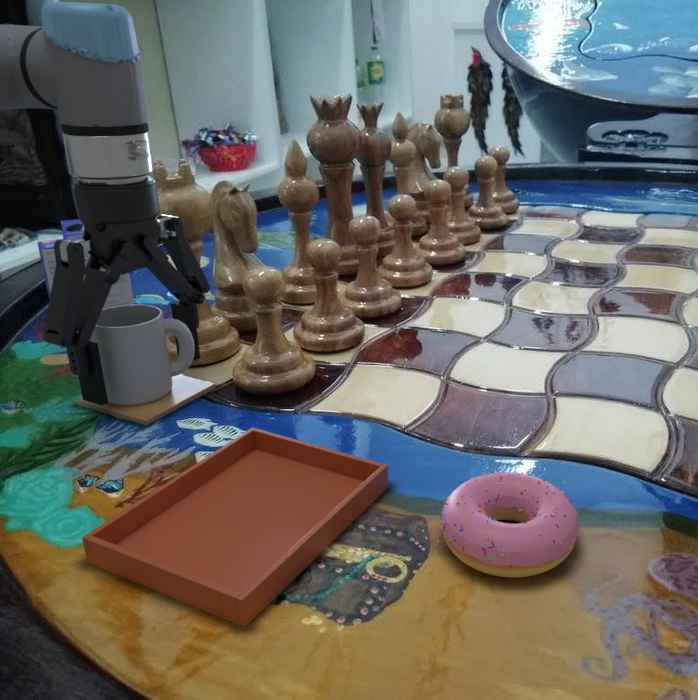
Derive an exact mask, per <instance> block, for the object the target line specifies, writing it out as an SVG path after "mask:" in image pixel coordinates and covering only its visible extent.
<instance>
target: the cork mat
mask: <svg viewBox="0 0 698 700" xmlns="http://www.w3.org/2000/svg"><path fill="white" fill-rule="evenodd" d="M216 388H217V387H216V383H215V382H210V381H207V380H204V379H203V380H202V379H200V378H195V377H191V376H188V375H184V374H179V375H176V376H172V388H171V390H170V391H169V393H168V394H167V395H166V396H165V397H163V398H161V399H159V400H157V401H154V402H151V403H147V404H143V405H136V406H118V405H114V404H110V403H109V402H108V403H106V404H104V405H99V404H95V403H92V402H88V401H85V400H83V397H80V398H78V399H76V404H77V406H80V407H82V408H86V409H89V410H93V411H96V412H100V413H103V414H107V415H110V416H113V417H116V418H120V419H124V420H127V421H129V422H133V423H137V424H139V425H143V426H145V427H146V426H149V425H151V424H152V423H154V422H156V421H158V420H160V419H161V418H163V417H166V416H167V415H169V414H171V413H173V412H174V411H176V410H178V409H180V408H182V407H184V406H186V405H188V404H189V403H191V402H193V401H195V400H197V399H198V398H200V397H202V396H204V395H206V394H207V393H210V392H211V391H214V390H215V389H216Z"/></svg>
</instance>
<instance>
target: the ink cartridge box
mask: <svg viewBox="0 0 698 700" xmlns="http://www.w3.org/2000/svg"><path fill="white" fill-rule="evenodd" d="M76 225H77V226H78V225H81V226H83V224H82V222H81V220H80V219H79V218H77V219H66V220H65V219H64V220H60V226H61V231H62V238H61V239H62V240H67V241H73V240H79V239H82V237H83V233H84V229H81V230H72V231H70V230H68V228H70V227H72V226H73V227H74V226H76ZM58 239H59V238H57V239H56V238H55V239H48V240H41V241H40V240H39V241H37V247H38V252H39V258H40V261H41V262H40V263H41V267H42V271H43V277H44V281H45V286H46V290H47V295H48V298H49V300H50V295H51V290H52V284H53V279H54V274H55V268H56V258H55V251H54V243H55V241H56V240H58ZM87 255H88V256H89V258H90V254H89V253H87ZM87 262H88V261H85V267H86V265H87ZM100 270H101V271H106V270H105V269H103V268H102V267H101V268H100ZM84 279H85V274H84ZM83 281H84V280H83ZM131 304H135V300H134V293H133V287H132V282H131V276H130V272H129V273H126V274H121V275H120V277H119V280H118V281H117V282H116V283H114V284H113V285H112V287H111V289H110V292H109V294H108V297H107V299H106V302H105V304H104V306H103V309H106V308H110V307H115V306H121V305H131ZM103 309H102V310H103ZM77 333H78V332H77Z"/></svg>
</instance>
